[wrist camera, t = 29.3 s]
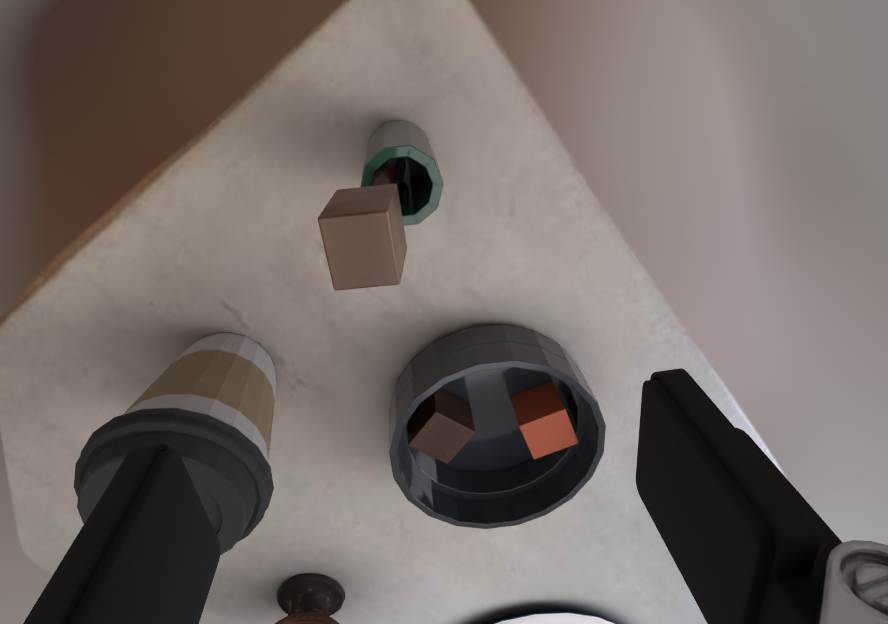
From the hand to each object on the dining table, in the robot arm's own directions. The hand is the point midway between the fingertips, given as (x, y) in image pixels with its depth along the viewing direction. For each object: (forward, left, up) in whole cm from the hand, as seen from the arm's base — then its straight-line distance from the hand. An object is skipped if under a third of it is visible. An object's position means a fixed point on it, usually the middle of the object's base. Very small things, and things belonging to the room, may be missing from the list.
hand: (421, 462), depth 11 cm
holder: (0, 0, -30) cm, 30 cm away
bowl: (-12, +20, -30) cm, 38 cm away
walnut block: (-8, +20, -30) cm, 37 cm away
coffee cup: (+10, +20, -31) cm, 38 cm away
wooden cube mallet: (0, 0, -30) cm, 30 cm away
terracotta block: (-16, +19, -30) cm, 39 cm away
